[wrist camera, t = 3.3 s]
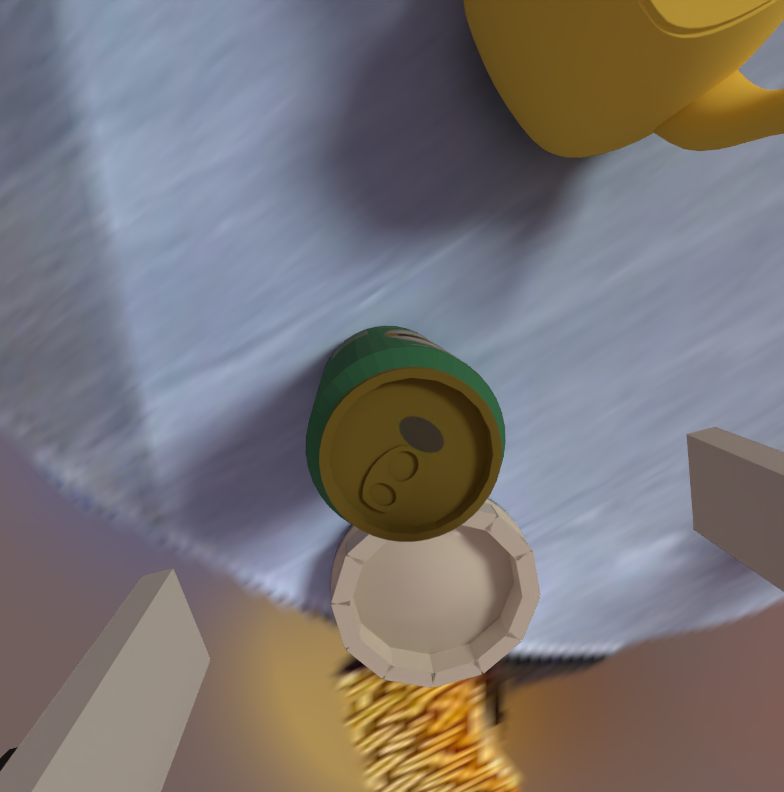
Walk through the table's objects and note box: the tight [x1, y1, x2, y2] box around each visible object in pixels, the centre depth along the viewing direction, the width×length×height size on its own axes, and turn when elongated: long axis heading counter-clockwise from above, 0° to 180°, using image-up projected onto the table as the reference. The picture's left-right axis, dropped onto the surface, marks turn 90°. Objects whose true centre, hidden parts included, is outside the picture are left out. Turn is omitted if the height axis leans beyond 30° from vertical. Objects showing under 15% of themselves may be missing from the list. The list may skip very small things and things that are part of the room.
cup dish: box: [331, 498, 540, 688], centre depth 31 cm, size 14×14×2 cm
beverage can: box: [306, 326, 505, 542], centre depth 22 cm, size 8×8×12 cm
